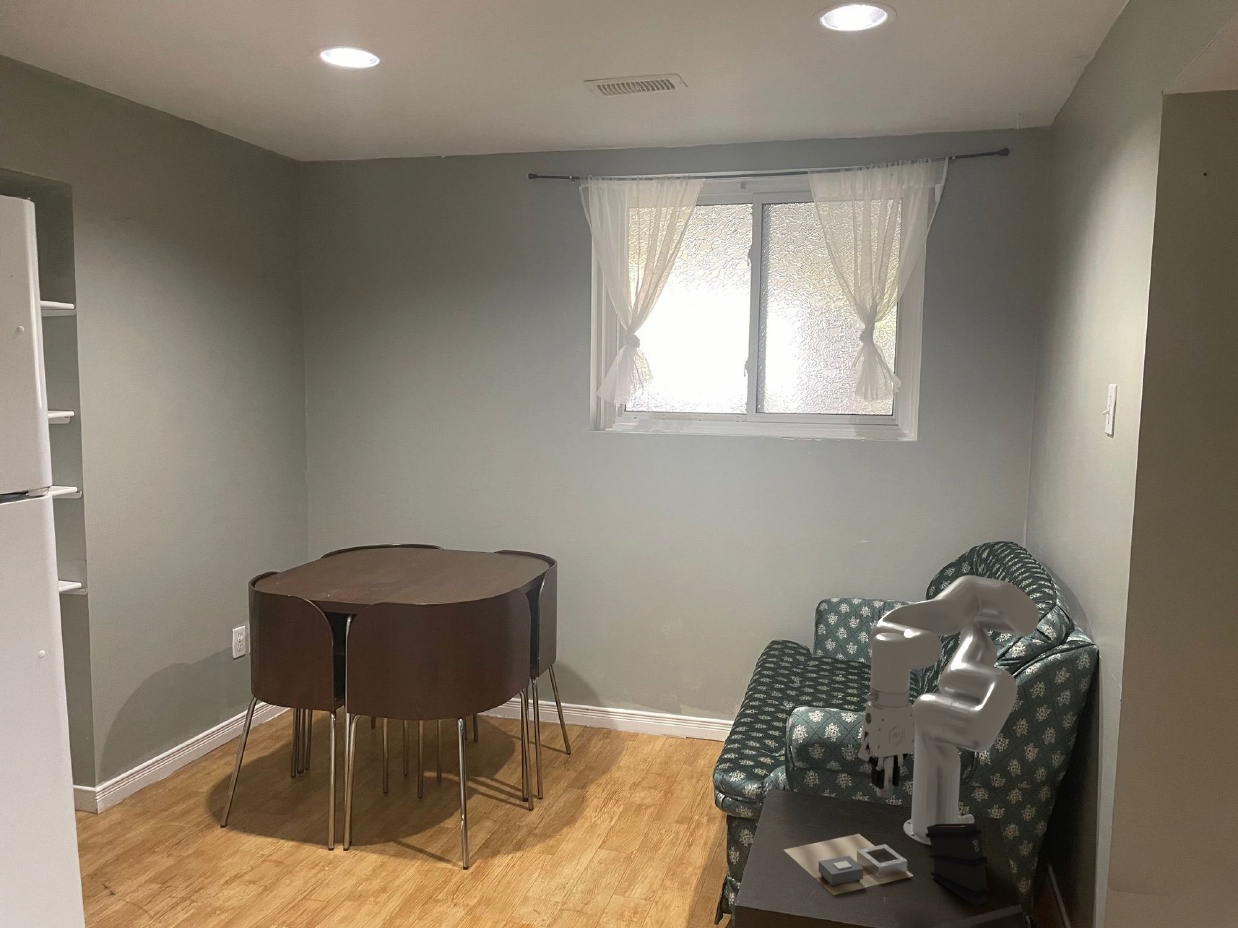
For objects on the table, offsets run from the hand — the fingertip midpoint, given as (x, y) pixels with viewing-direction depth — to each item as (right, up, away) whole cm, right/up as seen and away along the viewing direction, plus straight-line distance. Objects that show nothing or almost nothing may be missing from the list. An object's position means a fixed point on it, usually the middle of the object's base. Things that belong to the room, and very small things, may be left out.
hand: (885, 784), depth 190 cm
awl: (0, -2, 0) cm, 2 cm away
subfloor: (-7, -18, +4) cm, 20 cm away
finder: (-10, -18, -3) cm, 20 cm away
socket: (0, -18, +2) cm, 18 cm away
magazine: (+12, -20, -5) cm, 24 cm away
